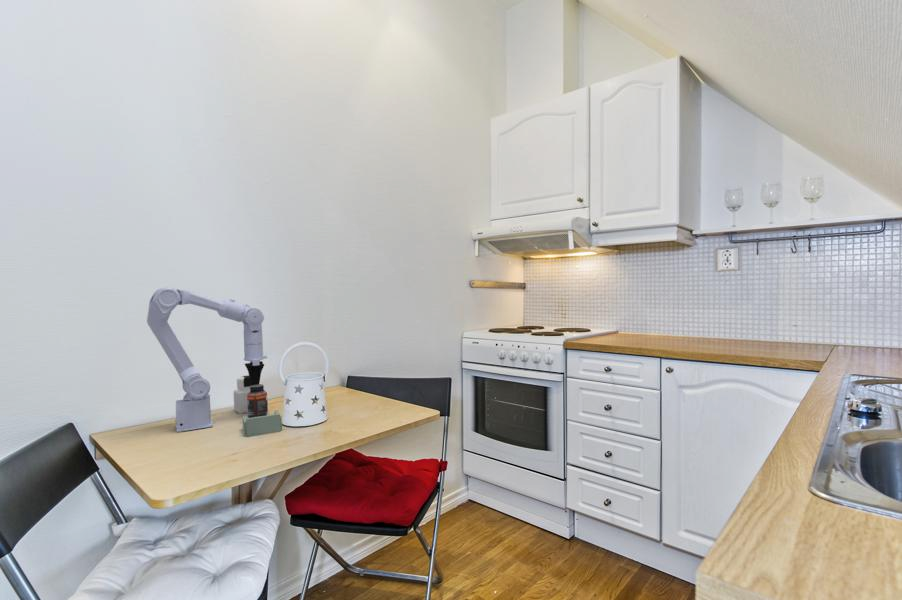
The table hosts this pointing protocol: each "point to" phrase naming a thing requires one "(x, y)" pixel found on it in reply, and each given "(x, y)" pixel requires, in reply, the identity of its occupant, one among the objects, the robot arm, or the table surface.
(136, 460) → the table surface
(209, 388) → the robot arm
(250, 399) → the supplement bottle
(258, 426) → the holder
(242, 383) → the medicine bottle
